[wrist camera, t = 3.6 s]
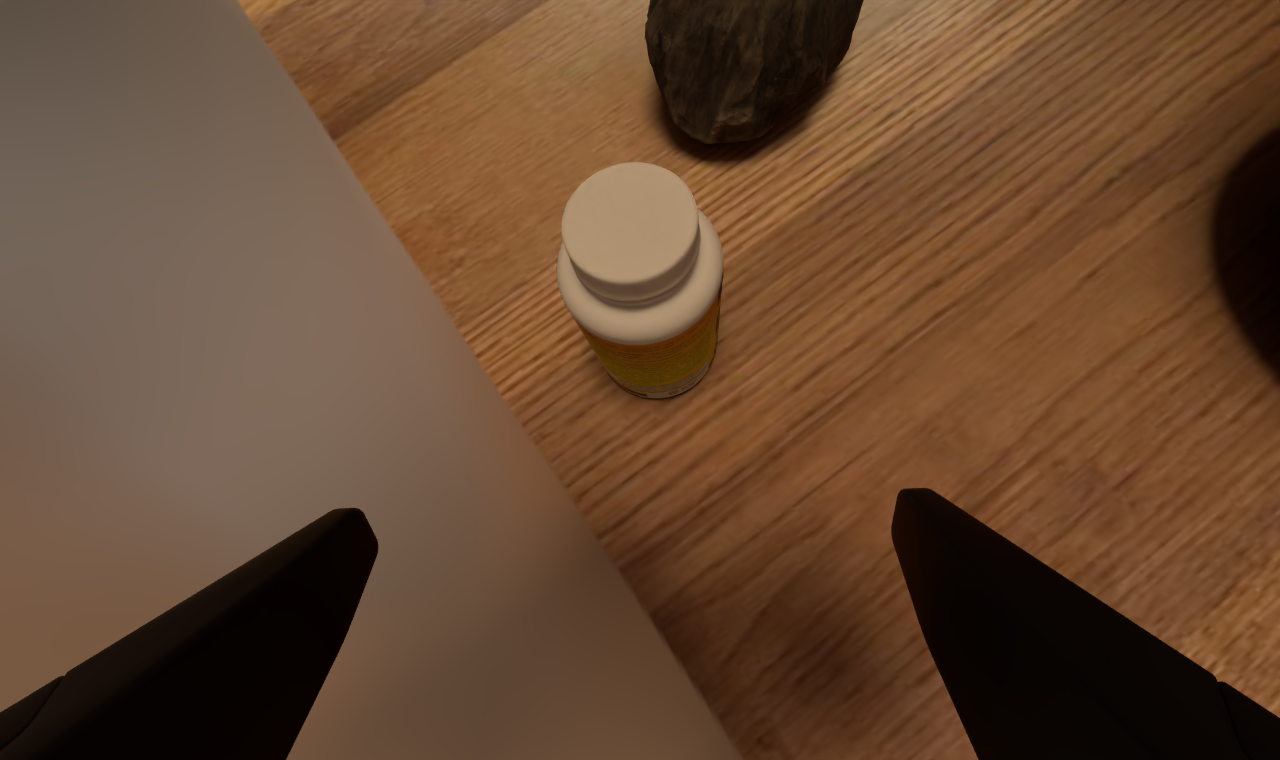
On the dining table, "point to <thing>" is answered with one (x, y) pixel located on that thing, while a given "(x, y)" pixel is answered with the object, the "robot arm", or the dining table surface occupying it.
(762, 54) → the rock
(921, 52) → the dining table surface
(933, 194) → the dining table surface
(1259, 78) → the dining table surface
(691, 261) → the supplement bottle
